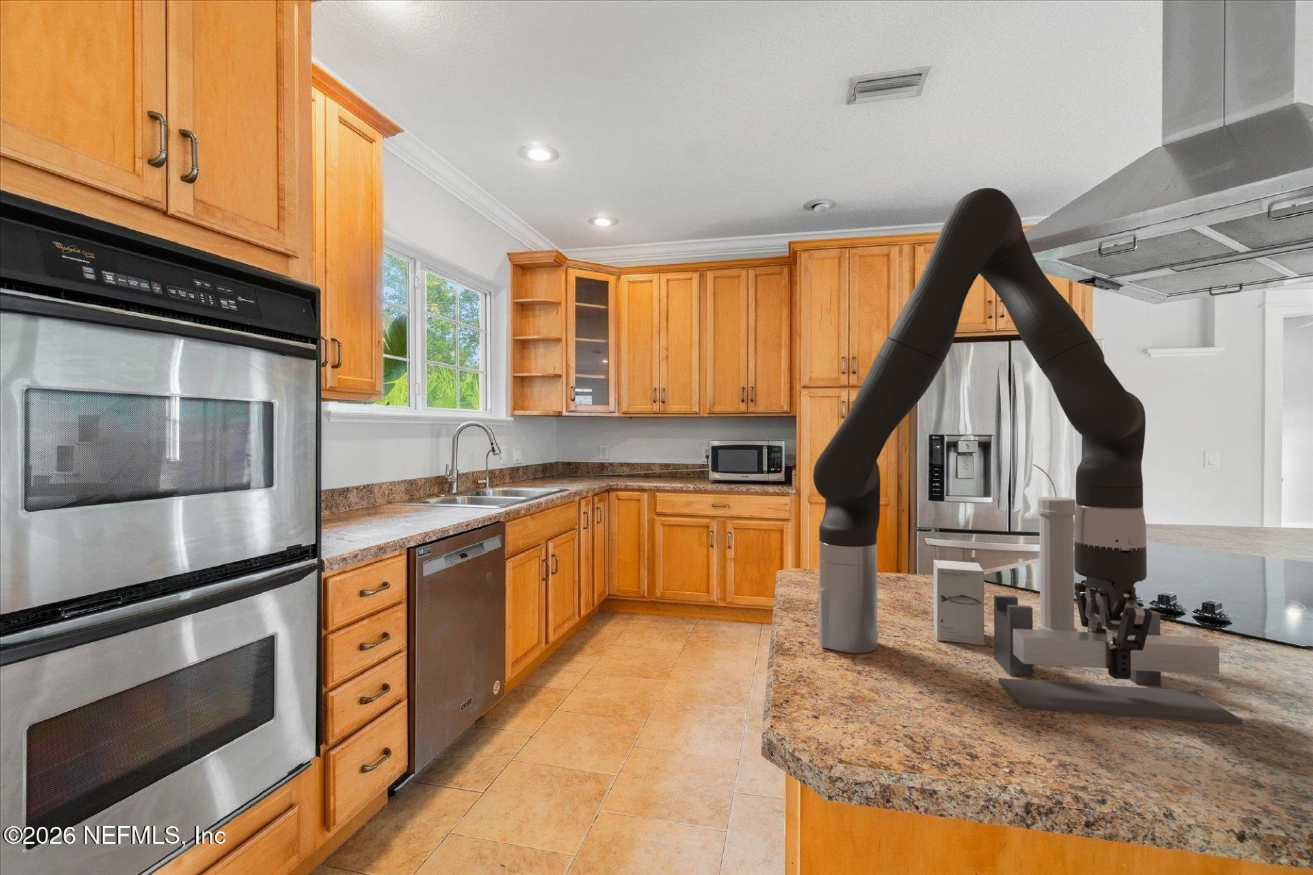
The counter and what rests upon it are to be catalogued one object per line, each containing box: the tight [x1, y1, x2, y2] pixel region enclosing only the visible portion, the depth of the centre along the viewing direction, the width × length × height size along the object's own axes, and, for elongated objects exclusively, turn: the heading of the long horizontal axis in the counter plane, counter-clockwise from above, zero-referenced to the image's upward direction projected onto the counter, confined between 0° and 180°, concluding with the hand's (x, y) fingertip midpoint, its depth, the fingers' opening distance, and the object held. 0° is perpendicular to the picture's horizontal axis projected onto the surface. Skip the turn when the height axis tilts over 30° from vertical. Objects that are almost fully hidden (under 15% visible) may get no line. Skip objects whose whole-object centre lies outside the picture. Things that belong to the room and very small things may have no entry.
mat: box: [998, 677, 1243, 726], centre depth 77 cm, size 24×8×1 cm, turn 78°
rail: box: [1013, 629, 1220, 676], centre depth 77 cm, size 22×4×4 cm, turn 78°
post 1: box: [993, 594, 1034, 678], centre depth 88 cm, size 3×6×10 cm, turn 168°
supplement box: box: [933, 559, 985, 647], centre depth 102 cm, size 7×7×13 cm
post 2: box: [1114, 610, 1162, 686], centre depth 85 cm, size 3×6×10 cm, turn 168°
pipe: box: [1032, 463, 1078, 632], centre depth 99 cm, size 6×6×30 cm
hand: (1110, 670), depth 77 cm, fingers closed on rail, 3 cm apart
